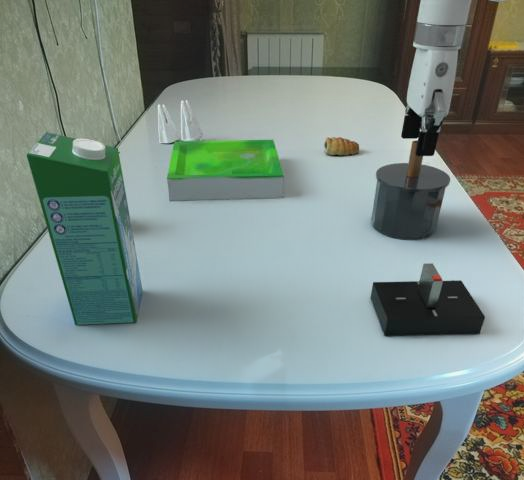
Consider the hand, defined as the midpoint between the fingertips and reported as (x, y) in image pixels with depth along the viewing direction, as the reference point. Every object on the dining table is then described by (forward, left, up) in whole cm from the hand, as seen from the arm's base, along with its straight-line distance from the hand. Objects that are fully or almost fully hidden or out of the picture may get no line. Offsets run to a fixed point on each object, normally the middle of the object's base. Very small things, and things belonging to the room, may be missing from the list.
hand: (416, 146), depth 92 cm
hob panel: (+5, +31, -15) cm, 35 cm away
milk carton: (+53, +27, -16) cm, 61 cm away
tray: (+36, -27, -16) cm, 47 cm away
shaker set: (+49, -55, -16) cm, 75 cm away
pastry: (+6, -45, -16) cm, 48 cm away
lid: (0, 0, -6) cm, 6 cm away
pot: (0, 0, -15) cm, 15 cm away
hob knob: (+5, +31, -12) cm, 34 cm away
